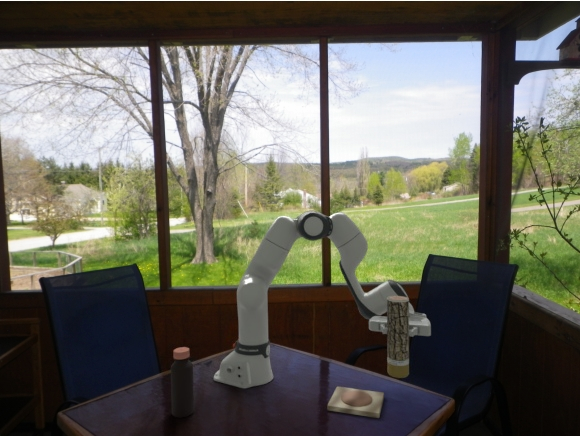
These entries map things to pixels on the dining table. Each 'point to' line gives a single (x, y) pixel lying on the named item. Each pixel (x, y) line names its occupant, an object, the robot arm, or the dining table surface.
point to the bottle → (182, 383)
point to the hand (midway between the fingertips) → (397, 332)
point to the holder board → (356, 402)
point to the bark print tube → (398, 336)
